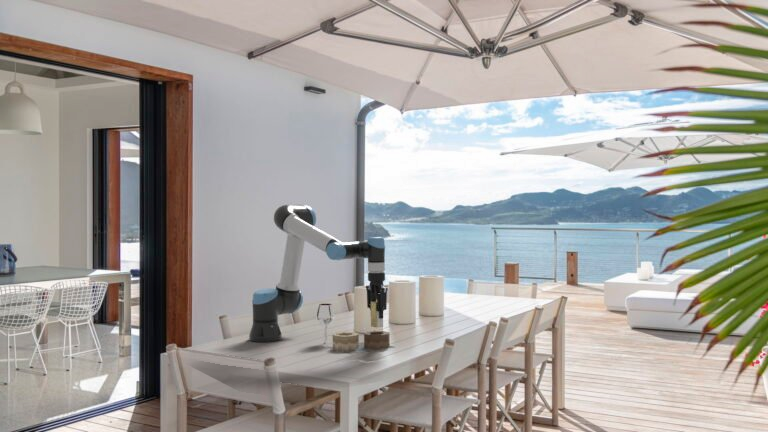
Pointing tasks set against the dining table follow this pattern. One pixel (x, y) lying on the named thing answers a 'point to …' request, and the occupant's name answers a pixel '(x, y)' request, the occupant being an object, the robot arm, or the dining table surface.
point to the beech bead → (345, 341)
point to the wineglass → (325, 316)
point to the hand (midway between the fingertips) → (376, 325)
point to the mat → (360, 349)
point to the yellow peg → (374, 314)
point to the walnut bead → (376, 339)
